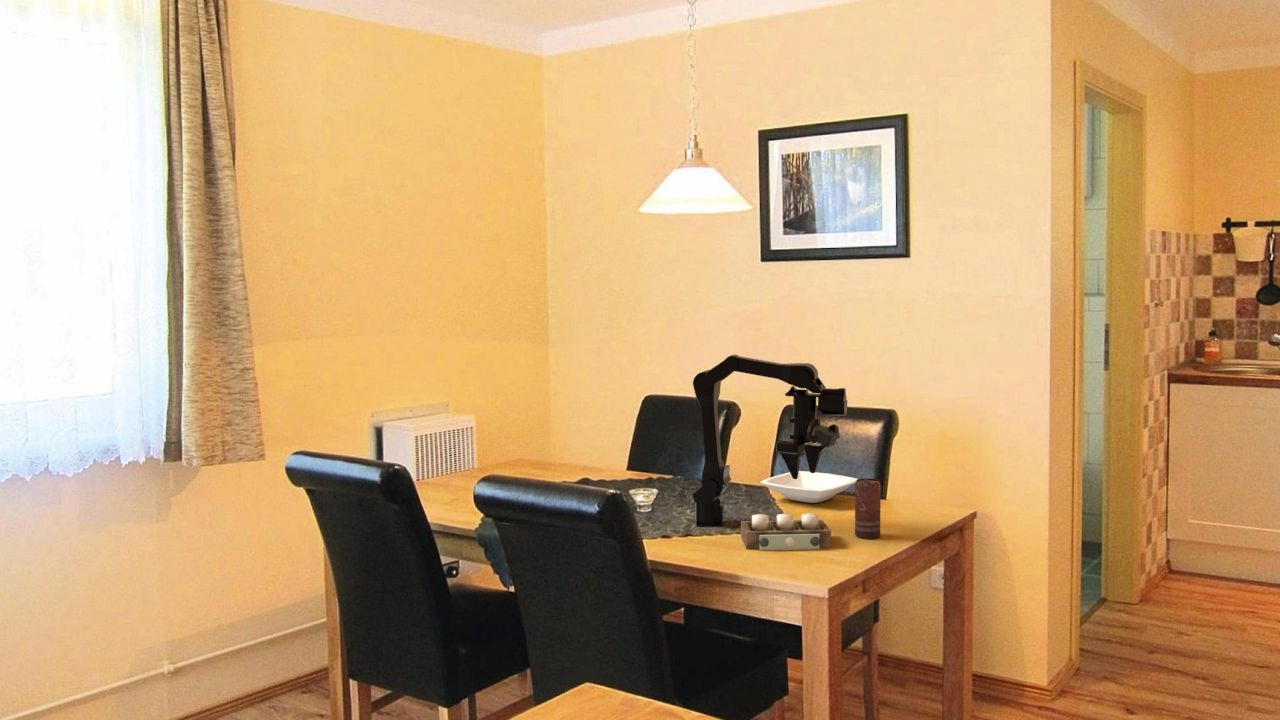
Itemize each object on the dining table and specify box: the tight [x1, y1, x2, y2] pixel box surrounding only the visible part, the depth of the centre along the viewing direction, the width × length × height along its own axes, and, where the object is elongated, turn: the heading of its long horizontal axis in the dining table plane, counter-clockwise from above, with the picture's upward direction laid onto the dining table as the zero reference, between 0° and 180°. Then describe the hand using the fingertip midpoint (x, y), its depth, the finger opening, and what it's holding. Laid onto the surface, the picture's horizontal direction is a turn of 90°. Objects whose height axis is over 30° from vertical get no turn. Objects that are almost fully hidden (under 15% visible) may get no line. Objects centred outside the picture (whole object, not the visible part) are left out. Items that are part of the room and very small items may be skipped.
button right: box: [801, 512, 819, 530], centre depth 264 cm, size 4×4×3 cm
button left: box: [751, 513, 770, 530], centre depth 264 cm, size 4×4×3 cm
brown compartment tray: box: [740, 519, 832, 550], centre depth 265 cm, size 20×11×4 cm, turn 91°
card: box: [759, 534, 820, 551], centre depth 258 cm, size 14×1×4 cm, turn 91°
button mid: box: [776, 513, 795, 530], centre depth 264 cm, size 4×4×3 cm
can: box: [854, 478, 882, 540], centre depth 268 cm, size 6×6×14 cm
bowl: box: [760, 470, 859, 504], centre depth 311 cm, size 22×23×6 cm
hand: (804, 476), depth 275 cm, fingers open, 9 cm apart
